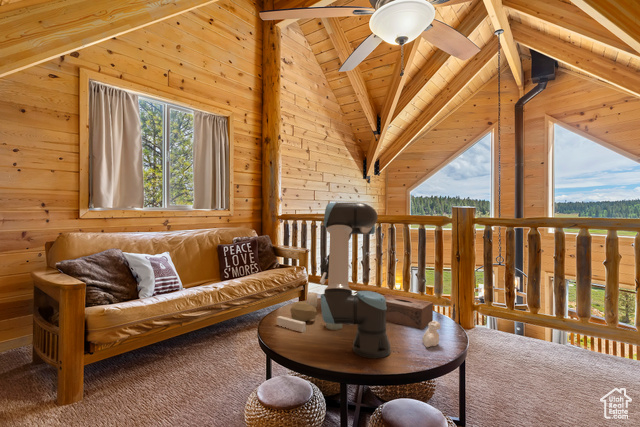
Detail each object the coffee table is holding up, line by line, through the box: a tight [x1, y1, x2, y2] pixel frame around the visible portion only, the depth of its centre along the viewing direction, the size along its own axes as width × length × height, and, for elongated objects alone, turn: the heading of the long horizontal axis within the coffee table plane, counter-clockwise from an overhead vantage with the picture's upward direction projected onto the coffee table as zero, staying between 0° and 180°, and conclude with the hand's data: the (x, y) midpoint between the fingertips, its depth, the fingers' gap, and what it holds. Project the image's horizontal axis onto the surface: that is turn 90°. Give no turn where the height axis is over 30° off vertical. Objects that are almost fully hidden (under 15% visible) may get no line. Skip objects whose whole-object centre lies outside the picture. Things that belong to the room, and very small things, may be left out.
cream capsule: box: [306, 292, 318, 308], centre depth 191 cm, size 6×6×7 cm
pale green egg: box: [325, 323, 343, 331], centre depth 157 cm, size 8×8×9 cm
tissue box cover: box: [383, 293, 434, 330], centre depth 168 cm, size 26×14×10 cm, turn 51°
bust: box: [421, 319, 442, 348], centre depth 137 cm, size 12×8×11 cm
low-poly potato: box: [290, 300, 318, 322], centre depth 165 cm, size 15×11×12 cm
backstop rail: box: [276, 315, 307, 333], centre depth 155 cm, size 2×16×4 cm, turn 56°
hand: (321, 283), depth 176 cm, fingers closed
